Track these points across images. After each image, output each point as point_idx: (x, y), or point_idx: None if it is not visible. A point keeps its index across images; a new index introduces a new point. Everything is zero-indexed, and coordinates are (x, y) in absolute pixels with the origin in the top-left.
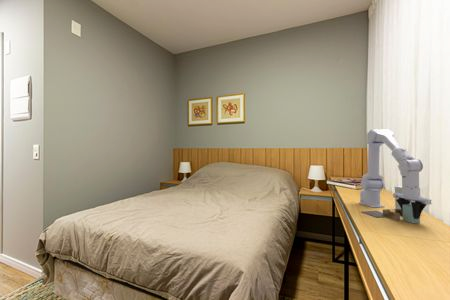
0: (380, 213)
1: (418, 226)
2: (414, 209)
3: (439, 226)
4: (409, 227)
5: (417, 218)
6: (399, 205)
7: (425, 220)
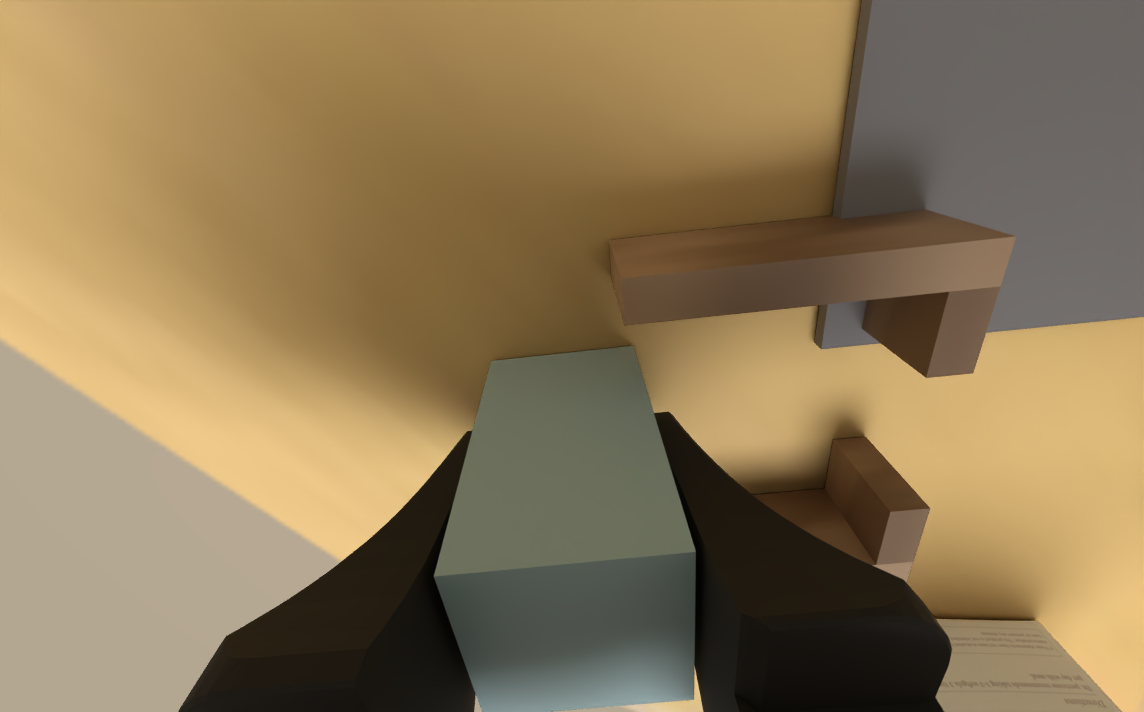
0: None
1: (341, 315)
2: (398, 539)
3: None
4: (257, 117)
5: None
6: (1030, 690)
7: None
